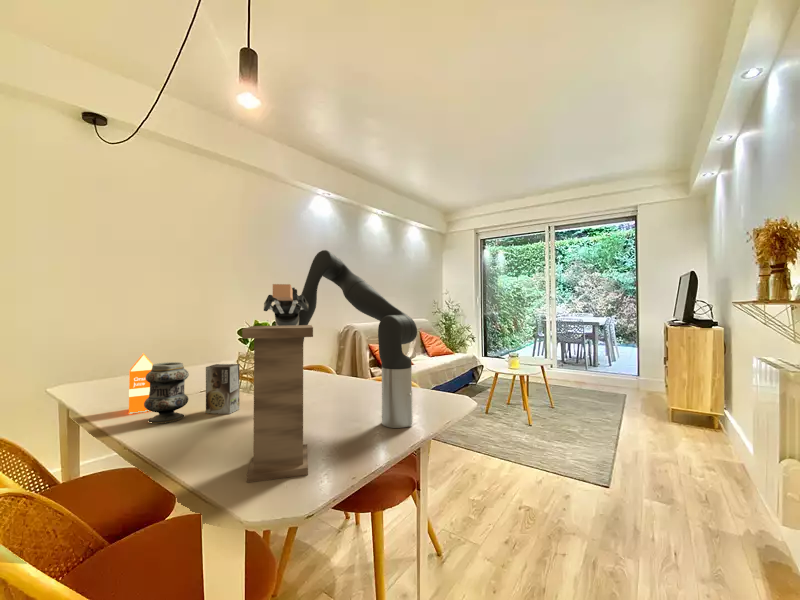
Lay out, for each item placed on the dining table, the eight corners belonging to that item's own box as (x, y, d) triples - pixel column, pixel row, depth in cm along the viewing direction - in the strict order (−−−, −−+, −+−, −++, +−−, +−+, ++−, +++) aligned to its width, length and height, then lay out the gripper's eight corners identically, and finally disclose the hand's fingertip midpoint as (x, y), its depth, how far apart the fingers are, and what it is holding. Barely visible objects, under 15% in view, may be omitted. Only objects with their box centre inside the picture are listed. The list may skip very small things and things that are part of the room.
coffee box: (240, 409, 127) (240, 363, 127) (229, 414, 120) (230, 366, 121) (216, 408, 128) (216, 363, 128) (204, 413, 121) (205, 366, 122)
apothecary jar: (196, 415, 119) (197, 361, 119) (161, 426, 108) (162, 367, 108) (170, 412, 123) (171, 360, 124) (134, 422, 112) (135, 365, 112)
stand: (252, 452, 87) (253, 326, 88) (311, 446, 91) (311, 325, 92) (241, 483, 72) (242, 328, 73) (312, 474, 75) (313, 327, 76)
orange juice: (128, 414, 121) (129, 355, 121) (128, 409, 128) (129, 353, 129) (156, 410, 125) (157, 353, 126) (155, 405, 132) (156, 351, 133)
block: (279, 300, 109) (279, 290, 109) (293, 300, 110) (293, 290, 110) (272, 296, 84) (272, 284, 84) (290, 296, 85) (290, 284, 85)
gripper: (309, 328, 118) (310, 300, 104) (263, 329, 114) (258, 300, 100) (309, 308, 122) (310, 279, 107) (265, 309, 118) (260, 279, 104)
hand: (285, 290), depth 104 cm, fingers closed on block, 4 cm apart
